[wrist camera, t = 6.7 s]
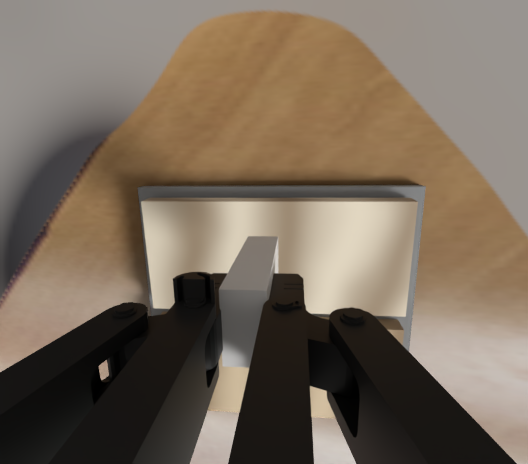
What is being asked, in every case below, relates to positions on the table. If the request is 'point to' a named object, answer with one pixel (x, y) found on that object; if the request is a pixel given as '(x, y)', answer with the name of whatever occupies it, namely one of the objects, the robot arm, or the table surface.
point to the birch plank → (290, 245)
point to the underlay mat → (302, 192)
